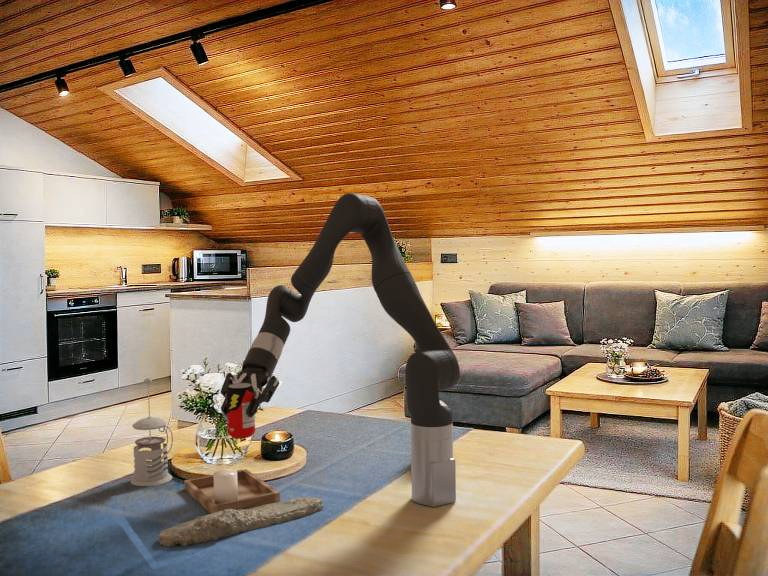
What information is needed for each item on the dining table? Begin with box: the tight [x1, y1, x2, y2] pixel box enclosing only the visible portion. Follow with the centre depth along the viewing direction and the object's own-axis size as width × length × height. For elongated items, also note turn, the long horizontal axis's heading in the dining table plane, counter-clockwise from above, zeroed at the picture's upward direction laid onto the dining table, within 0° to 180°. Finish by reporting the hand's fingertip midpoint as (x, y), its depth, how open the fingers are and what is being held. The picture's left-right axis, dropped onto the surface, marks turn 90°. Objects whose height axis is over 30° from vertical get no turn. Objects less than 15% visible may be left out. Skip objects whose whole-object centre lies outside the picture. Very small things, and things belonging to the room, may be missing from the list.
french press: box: [130, 377, 174, 487], centre depth 179 cm, size 10×12×25 cm
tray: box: [183, 468, 281, 514], centre depth 164 cm, size 20×15×3 cm
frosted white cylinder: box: [212, 469, 238, 504], centre depth 158 cm, size 5×5×7 cm
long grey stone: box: [158, 496, 324, 547], centre depth 148 cm, size 35×5×10 cm
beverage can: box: [226, 383, 256, 440], centre depth 170 cm, size 6×6×12 cm
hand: (236, 414), depth 169 cm, fingers closed on beverage can, 6 cm apart
